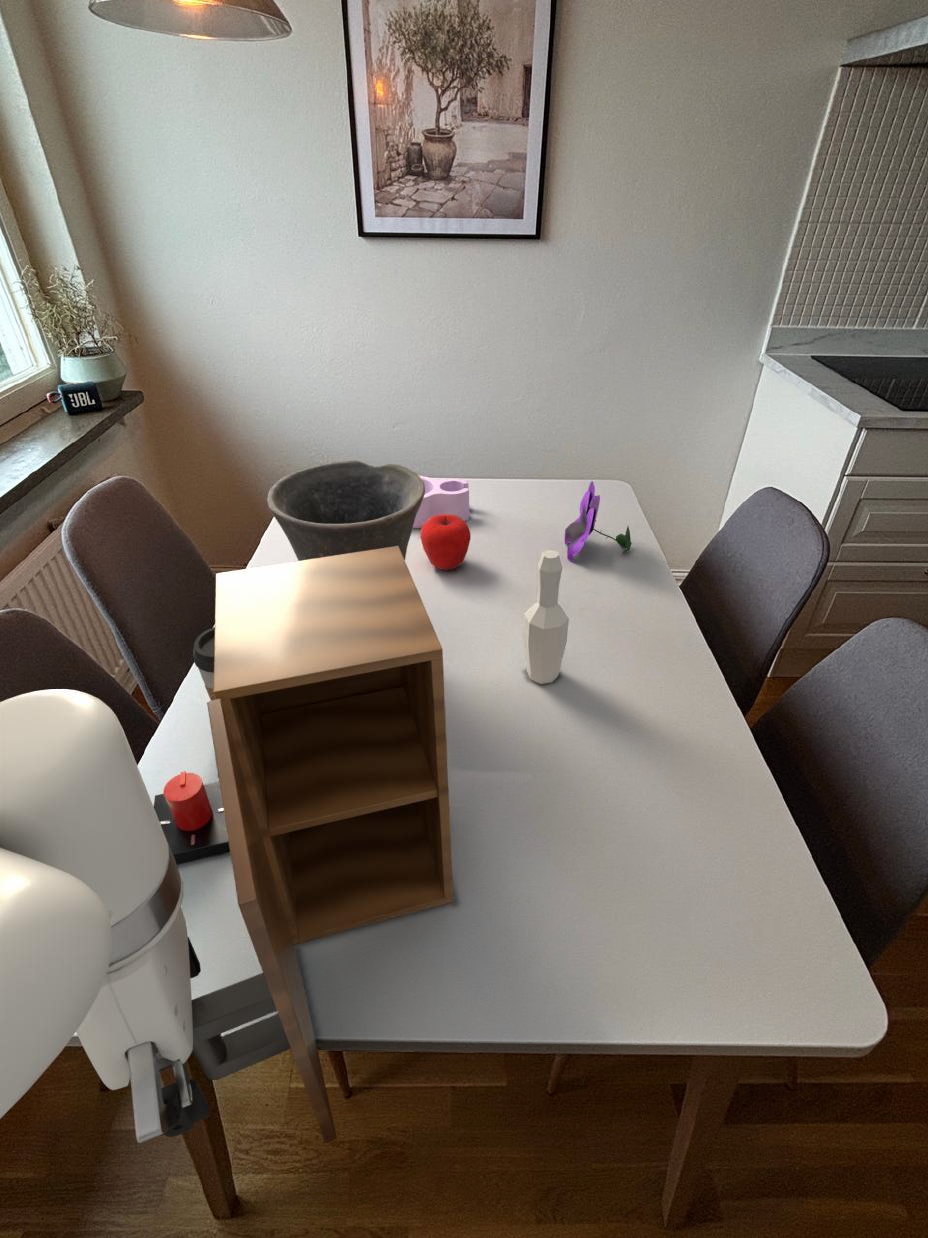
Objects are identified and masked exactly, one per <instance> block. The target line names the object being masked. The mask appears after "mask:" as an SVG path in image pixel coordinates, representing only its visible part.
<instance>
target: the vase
mask: <svg viewBox="0 0 928 1238" xmlns="http://www.w3.org/2000/svg"><path fill="white" fill-rule="evenodd" d="M419 476H420V475H419V474H418V473H417V472H415V471H413V470H411V469H409V468H408V467H406V466H404V465H401V464H398V463H397V464H395V463H387V464H384V465H380V466H375V465H369V464H368V463H365V462H362V461H360V460H342V461H340V460H339V461H332V462H328V463H321V464H317V465H314V466H310V467H305V468H303V469H301V470H297V471H295V472H292V473H290V474H288V475H286V476H283V477H282V478H280V479H279V480H277V481H276V482H275V483H274V485H273V486H272V487H271V488H270V489H269V491H268V494H267V498H266V502H267V507H268V509H269V511H270V513H271V514H272V516H273V517H274V519H275V520H276V522H277V524H279V526H280V528H281V530H282V531H283V533H284V535H285V536H286V538H287V540H288V542H289V544H290V546H291V548H292V550H293V552H294V555H295V557H296V559H297V561H302V560H309V559H315V558H322V557H328V556H335V555H341V554H348V553H355V552H361V551H368V550H374V549H381V548H387V547H394V546H399V548H400V551H401V553H402V555H403V558H404V560H405V561H406V557H407V553H408V552H407V551H408V546H409V542H410V540H411V539H410V538H411V536H412V532H413V529H414V528H413V524H414V520H415V517H416V514H417V512H418V510H419V508H420V505H421V503H422V500H423V497H424V494H425V485H424V482H423V480H422V479H421V478H420V477H419Z"/></svg>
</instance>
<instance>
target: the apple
mask: <svg viewBox="0 0 928 1238" xmlns="http://www.w3.org/2000/svg"><path fill="white" fill-rule="evenodd" d="M471 537H472V535H471V531H470V527H469V525H468V524H467V522H466V520H465V521H463V520H462V519H461V518H459V517H458V516H455V515H447V514H442V515H436V516H433V517H431V518H430V519H429V520H428V521H427V522H425V523H424V524H423V526H422V527H421V530H420V537H419V539H420V541H421V544H422V549H423V551H424V553H425V555H426V557H427V559H428V561H429V563H430V565H432V566H434V567H436V568H438V569H440V570H445V571H446V570H447V571H449V570H453V569H456V568H457V567H459V566H460V565H461V564H462V563H463V562H464V560H465V558H466V556H467V553H468V551H469V547H470V542H471Z"/></svg>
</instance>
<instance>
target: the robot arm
mask: <svg viewBox="0 0 928 1238" xmlns="http://www.w3.org/2000/svg"><path fill="white" fill-rule="evenodd" d="M184 893H185V888H184V880H183V877H182V874H181V871H180V870H179V867H178V865H177V864H176V861H175V859H174V856H173V854H172V851H171V849H170V846H169V844H168V841H167V839H166V838H165V835H164V833H163V830H162V827H161V825H160V822H159V820H158V817H157V815H156V812H155V809H154V803H153V802H152V799H151V797H150V795H149V792H148V790H147V786H146V784H145V781H144V778H143V776H142V774H141V771H140V769H139V767H138V764H137V761H136V759H135V756H134V754H133V751H132V749H131V745H130V744H129V740H128V738H127V736H126V733H125V731H124V729H123V726H122V725H121V723H120V721H119V719H118V716H117V714H116V713H115V712H114V711H113V710H112V708H111V707H110V706H109V705H107V704H106V703H105V702H104V701H103V700H101V699H100V698H98V697H96V696H94V695H92V694H89V693H87V692H83V691H80V690H76V689H66V688H62V689H60V688H59V689H57V688H56V689H43V690H35V691H30V692H26V693H22V694H19V695H16V696H13V697H10V698H7V699H4V700H2V701H0V1120H1V1119H2V1118H3V1117H4V1116H5V1115H6V1114H7V1113H8V1112H9V1110H11V1109H12V1108H13V1107H14V1105H16V1104H17V1102H19V1100H21V1099H22V1098H23V1097H24V1095H26V1093H27V1092H29V1090H30V1089H31V1088H32V1087H33V1085H34V1084H35V1083H36V1082H37V1081H38V1079H40V1077H41V1076H42V1075H43V1074H44V1073H45V1072H46V1070H47V1069H48V1068H49V1067H50V1066H51V1065H52V1064H53V1062H54V1061H55V1060H56V1059H57V1057H58V1056H59V1055H60V1054H61V1053H62V1051H63V1050H64V1049H65V1048H66V1046H67V1045H68V1043H69V1042H70V1041H71V1039H72V1038H73V1036H75V1034H76V1035H77V1037H78V1039H79V1041H80V1044H81V1045H82V1048H83V1049H84V1051H85V1054H86V1055H87V1057H88V1060H89V1061H90V1064H92V1067H93V1069H94V1070H95V1072H96V1073H97V1075H98V1077H99V1078H100V1080H101V1081H102V1083H103V1084H104V1085H105V1086H106V1087H107V1088H108V1089H109V1090H111V1091H116V1090H120V1089H123V1088H125V1087H128V1086H129V1084H130V1087H131V1099H132V1108H133V1119H134V1128H135V1137H136V1141H137V1143H138V1144H142V1143H145V1142H147V1141H150V1140H151V1139H154V1138H157V1137H162V1136H165V1137H166V1138H167V1137H168V1138H173V1137H177V1136H181V1135H182V1134H186V1133H188V1132H189V1131H190V1130H192V1129H193V1128H194V1123H197V1122H199V1121H202V1120H204V1119H207V1118H208V1117H210V1115H211V1110H210V1104H209V1101H208V1100H207V1098H206V1095H205V1094H204V1092H203V1090H202V1088H201V1086H200V1084H199V1082H198V1080H197V1079H194V1078H190V1075H189V1069H188V1064H187V1060H188V1059H189V1058H190V1056H191V1054H192V1053H193V1052H192V1049H193V1022H192V1000H193V999H192V983H191V981H192V980H191V979H193V978H196V977H198V976H199V975H200V973H201V970H202V969H201V963H200V960H199V957H198V956H197V952H196V951H195V948H194V945H193V943H192V941H191V939H190V937H189V935H188V928H187V922H186V918H185V915H184V912H183V908H182V906H183V901H184V896H185V895H184ZM169 1068H172V1070H173V1074H174V1080H175V1082H173V1083H171V1084H168V1085H165V1086H163V1087H162V1082H161V1073H160V1072H161V1071H163V1070H166V1069H169Z"/></svg>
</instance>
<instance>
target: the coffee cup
mask: <svg viewBox="0 0 928 1238" xmlns="http://www.w3.org/2000/svg"><path fill="white" fill-rule="evenodd" d="M214 644H215V626H213V627H210V628H208V629H207V630H205V631H203V632H202V633H200V634H199V635H198V636H197V637H196V638H195V641H194V643H193V649H192V657H193V663H194V665H195V666H196V667H197V669H198V671H199V673H200V676H201V678H202V682H203V684H204V688H205V690H206V693H207V695H208V697H209V700H210V701H213V700H216V699H215V695H214Z"/></svg>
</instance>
